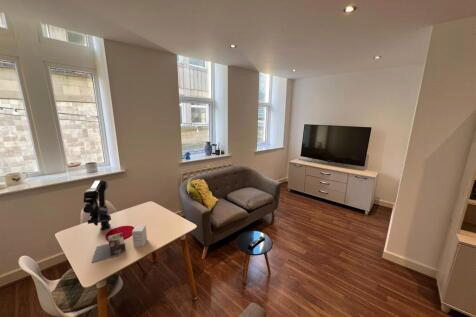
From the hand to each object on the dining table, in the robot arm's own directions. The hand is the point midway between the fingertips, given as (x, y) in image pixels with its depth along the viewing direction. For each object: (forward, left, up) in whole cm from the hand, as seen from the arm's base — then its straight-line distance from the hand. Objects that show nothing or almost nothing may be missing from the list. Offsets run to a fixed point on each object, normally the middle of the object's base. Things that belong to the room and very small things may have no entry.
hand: (96, 225), depth 145 cm
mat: (+18, +7, -13) cm, 23 cm away
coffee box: (+8, +12, -9) cm, 17 cm away
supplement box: (+18, +28, -13) cm, 36 cm away
